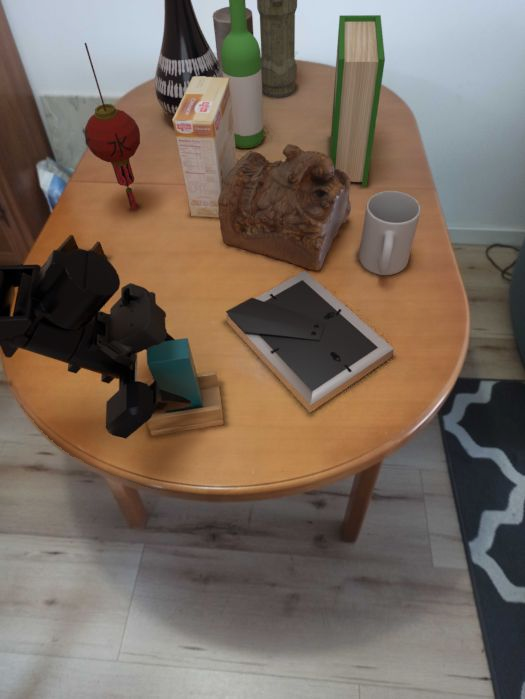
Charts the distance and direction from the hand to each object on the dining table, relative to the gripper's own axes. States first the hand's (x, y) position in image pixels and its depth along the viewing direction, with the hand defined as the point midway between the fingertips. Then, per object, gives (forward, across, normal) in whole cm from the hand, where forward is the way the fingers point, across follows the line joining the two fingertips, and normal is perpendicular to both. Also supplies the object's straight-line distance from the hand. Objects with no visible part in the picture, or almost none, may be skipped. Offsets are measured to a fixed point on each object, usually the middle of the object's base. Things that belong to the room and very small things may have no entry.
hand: (187, 378), depth 66 cm
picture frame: (+18, +9, -7) cm, 22 cm away
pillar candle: (+18, +99, -7) cm, 101 cm away
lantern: (-1, +48, +12) cm, 49 cm away
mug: (+30, +23, -18) cm, 42 cm away
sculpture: (+19, +34, -8) cm, 40 cm away
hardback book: (+31, +54, -20) cm, 66 cm away
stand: (+4, 0, +6) cm, 8 cm away
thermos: (+25, +88, -14) cm, 93 cm away
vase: (+10, +79, +2) cm, 80 cm away
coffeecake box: (+11, +49, 0) cm, 50 cm away
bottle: (+17, +67, -6) cm, 69 cm away
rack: (-8, +31, +19) cm, 37 cm away
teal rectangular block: (+4, 0, +6) cm, 7 cm away
